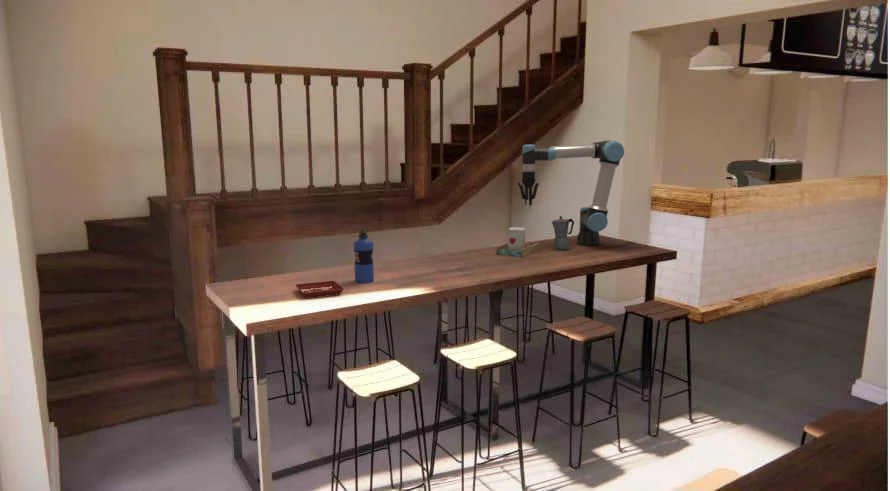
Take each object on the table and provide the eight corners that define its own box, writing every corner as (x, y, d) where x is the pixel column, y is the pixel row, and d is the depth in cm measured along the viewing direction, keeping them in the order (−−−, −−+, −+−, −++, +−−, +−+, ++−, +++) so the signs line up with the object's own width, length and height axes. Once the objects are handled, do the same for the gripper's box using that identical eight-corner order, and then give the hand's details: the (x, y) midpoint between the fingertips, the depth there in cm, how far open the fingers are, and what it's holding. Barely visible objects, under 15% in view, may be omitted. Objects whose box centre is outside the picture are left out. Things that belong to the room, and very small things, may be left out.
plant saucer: (295, 291, 289) (294, 283, 288) (334, 286, 296) (334, 280, 295) (303, 300, 272) (303, 293, 272) (344, 296, 279) (344, 288, 279)
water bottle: (357, 284, 299) (356, 231, 294) (352, 280, 307) (350, 228, 302) (376, 282, 302) (375, 230, 298) (370, 278, 311) (369, 227, 306)
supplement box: (507, 255, 365) (507, 229, 362) (509, 252, 374) (510, 226, 371) (523, 255, 363) (523, 229, 360) (525, 252, 372) (525, 227, 369)
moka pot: (546, 248, 383) (547, 215, 380) (567, 246, 390) (568, 214, 386) (555, 251, 375) (556, 217, 371) (577, 249, 381) (578, 216, 377)
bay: (539, 250, 378) (539, 243, 377) (522, 257, 358) (522, 249, 357) (514, 247, 386) (514, 240, 385) (496, 254, 366) (496, 246, 365)
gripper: (515, 171, 376) (515, 211, 380) (536, 171, 369) (536, 212, 374) (520, 170, 382) (520, 209, 387) (541, 170, 376) (541, 210, 380)
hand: (528, 210), depth 380 cm, fingers closed
